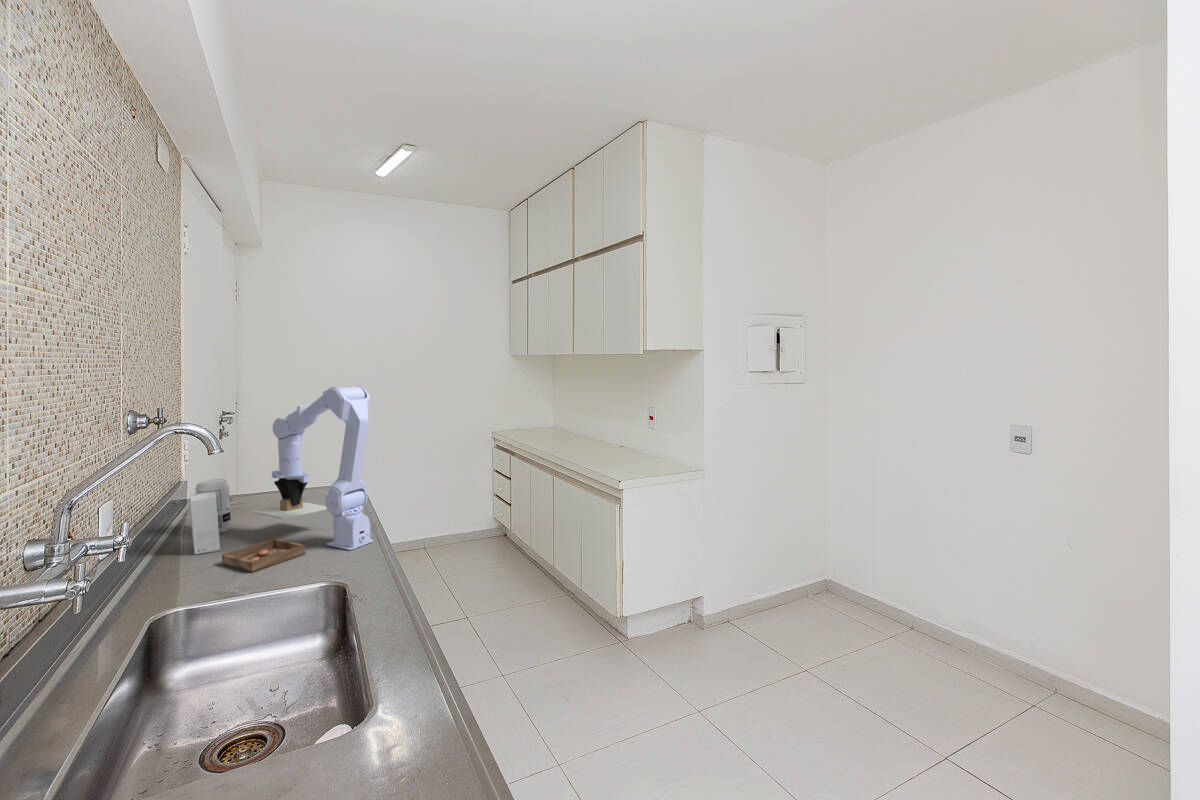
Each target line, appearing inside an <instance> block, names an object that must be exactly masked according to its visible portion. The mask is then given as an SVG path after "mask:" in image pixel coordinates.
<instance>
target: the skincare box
mask: <svg viewBox="0 0 1200 800" xmlns="http://www.w3.org/2000/svg"><path fill="white" fill-rule="evenodd" d="M189 499H190V500H189V507H190V521H191V523H190V524H191V525H190V526H191V535H192V543H193V544H192V546H193V551H194V552H193V553H194V555H200V554H204V553H215V552H219V551H221V542H220V533H219V530H218V517H217V503H216V493H215V492H209V493H202V494H196V493H195V494H191V495H190V497H189Z"/></svg>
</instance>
